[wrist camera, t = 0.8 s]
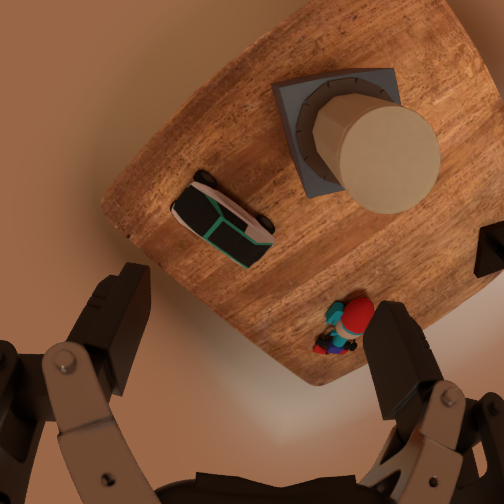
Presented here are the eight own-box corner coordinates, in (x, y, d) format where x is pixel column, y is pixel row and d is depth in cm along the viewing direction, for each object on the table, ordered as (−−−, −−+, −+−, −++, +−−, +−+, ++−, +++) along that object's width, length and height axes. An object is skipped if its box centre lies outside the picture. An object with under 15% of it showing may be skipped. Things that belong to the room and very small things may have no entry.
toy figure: (346, 345, 53) (386, 293, 43) (347, 369, 49) (391, 319, 40) (308, 339, 53) (341, 283, 43) (307, 363, 49) (343, 310, 39)
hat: (283, 90, 20) (297, 97, 13) (391, 72, 18) (449, 77, 12) (310, 194, 24) (331, 248, 17) (406, 173, 23) (457, 216, 16)
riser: (271, 84, 30) (278, 87, 20) (350, 68, 28) (394, 68, 18) (292, 159, 34) (307, 199, 24) (365, 142, 33) (410, 176, 23)
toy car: (247, 255, 41) (246, 280, 37) (172, 202, 37) (160, 221, 33) (277, 225, 39) (280, 247, 34) (200, 166, 35) (191, 181, 30)
